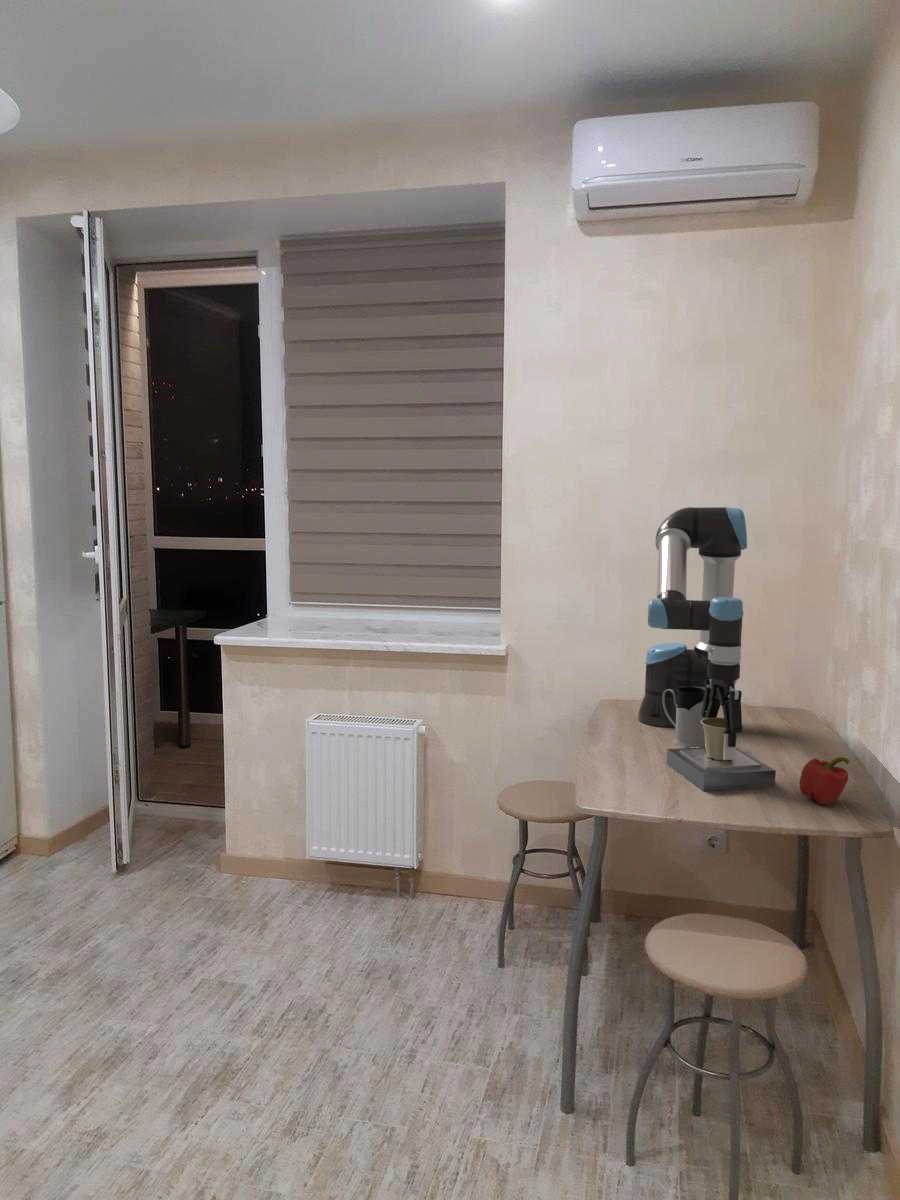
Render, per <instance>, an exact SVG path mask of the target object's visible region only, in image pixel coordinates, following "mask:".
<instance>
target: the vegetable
mask: <svg viewBox="0 0 900 1200" xmlns="http://www.w3.org/2000/svg"><path fill="white" fill-rule="evenodd" d="M842 762H845V764H849V763H850V762H851V760H850V759H849V758H848V757H836V758H833V759H832V760H831V761H830V762H828V761H823V760H822V761H820V760H819V759H817V758H813V759H810V760H809V761H808V762H807V763H806V764H805V765H804V766H803V767H802V770H801V774H800V777H799V790H800V792H801V794H802V795H803V796H805V797H806V798H808V799H813V800H815V801H816V802H817V803H818V804H820V805H831V804H833V803H836V801H837V800H838V799H839V798H840V796H841V795H842V793H843V791H844V789H845V788H846V785H847V783H848V781H849V773H848V771H847V770H845V768H842V767H839V766H835V765H837V764H839V763H842Z"/></svg>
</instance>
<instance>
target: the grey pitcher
mask: <svg viewBox="0 0 900 1200" xmlns="http://www.w3.org/2000/svg"><path fill="white" fill-rule="evenodd" d="M667 690H669V691H671V692H672V693H673V696H674V704H675V706H677V707H676V724H675V723H674V722H673V720H672V719H671V717H670V716H669V714H668V712H667V709H666V706H665V693H666V691H667ZM667 690H665V691H664V692H663V696H662V702H663V707H664V711H665V713H666V715H667V717H668V718H669V720H670V721H671V723H672V724H673V725H674V727H673V728H675V729H674V730H675V735H674V738H673V741H674V743H675V744H674V743H673V744H674V745H676V744H677V745H676V746H678V745H681V746H684V747H683V748H687V747H694V748H695V747H704V746H705V734H704V729H703V725H702V724H701V720H702V719H704V717H702V716H701V712H702V705H703V699H704V692H705V689H701V688H696V687H681V688H678V696H677V703H676V694H675V692H674V691H673V690H671V689H667ZM681 746H680V747H681Z"/></svg>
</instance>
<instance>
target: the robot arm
mask: <svg viewBox="0 0 900 1200" xmlns="http://www.w3.org/2000/svg"><path fill="white" fill-rule="evenodd" d="M654 544H655V547H656V550H657V551H658V558H657V559H658V561H657V580H656V598H651V599H649V600H648V606H647V607H648V608H647V624H648V626H649V627H650V628H652V629H662V630H682V631H683V630H686V631H687V630H691V631H700V632H699V633H700V634H699V639H698V640H697V641H696V642H694V644H693V649H692V648H690V649H688V646H687V645H686V643H677V642H672V643H671V642H670V643H662V644H661V643H660V644H656V645H652V646H650V647H649V648H647V651H646V657H645V661H644V662H645V663H644V664H645V681H644V696H643V698H642V701H641V703H640V707H639V709H638V714H637V720H638V721H639V722H641V723H643V724H646V725H650V726H654V727H655V726H656V727H664V728H665V727H667V728H670V727H671V728H675V727H674V725H673V724H672V723H671V721H670V720H669V718H668V717H667V715H666V713H665V711H664V707H663V702H662V696H663V692H664V691H665V690H667V689H671V690H673V691H674V692H675V694H676V703H677V696H678V688H681V687H696V688H701V689H704V690H705V692H704V699H703V705H702V712H701V716H702V717H704V719H705V718H718V713H719V711H720V708H721V707H722V712H723V718H724V720H725V726H726V731H724V747H723V759H724V760H733V759H735V749H736V748H737V747H736V745H737V744H736V743H737V739H736V734H737V733H738V734H742V733H743V719H742V718H743V715H742V696H743V695H742V691H741V690H736V688H735V687H736V686H735V685H737V684H736V683H737V681H738V680H739V679H740V677H741V675H740V674H741V664H740V663H741V660H742V659H741V657H742V630H743V618H744V617H743V616H744V609H743V608H744V602H743V600H742V599H740V598H736V597H734V585H735V582H734V581H735V568H736V566H735V565H736V562H737V560H738V559H739V558H740V557H741V556H742V550H743V551H744V550H746V549H747V548H748V535H747V523H746V517H745V514H744V511H743V509H740V508H738V507H737V508H736V507H728V506H727V507H725V506H720V507H718V506H717V507H716V506H715V507H712V506H711V507H709V506H707V507H706V506H705V507H693V506H692V507H691V506H689V507H684V508H680V509H678V510H675V511H674V512H673V513H671V514H670V515H668V516H667V517H666V518H665V519H664V520H663V521H662V522H661V524H660V525H659V527H658V528H657V531H656V535H655V543H654ZM690 549H698V555H699V556H700V558H701V559H702V560H703V572H702V589H701V590H702V593H701V600H695V599H692V600H691V599H687V567H688V566H687V565H688V564H687V562H688V557H687V554H688V550H690ZM665 706H666V709H667V712H668V714H669V716H670V717H671V719H672V720H673V722H674V723H675V724H676V707H677V706H675V704H674V696H673V693H672V692H671V691H669V690H667V691H666V693H665ZM738 734H737V735H738ZM705 748H706V743H705Z"/></svg>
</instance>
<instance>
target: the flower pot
mask: <svg viewBox="0 0 900 1200" xmlns="http://www.w3.org/2000/svg"><path fill="white" fill-rule="evenodd" d="M701 724H702V725H703V729H704V734H705V743H706V753H707V756H708V757H709V758H714V759H715V760H724V759H723V747H724V731H726V726H725V720H724V717H717V718H705V719H702V720H701ZM738 734H739V733H737V734H736V740H737V739H738Z"/></svg>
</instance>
